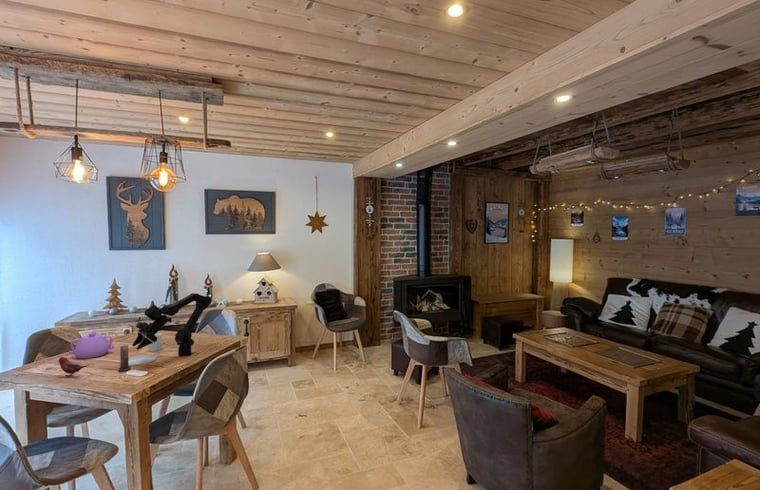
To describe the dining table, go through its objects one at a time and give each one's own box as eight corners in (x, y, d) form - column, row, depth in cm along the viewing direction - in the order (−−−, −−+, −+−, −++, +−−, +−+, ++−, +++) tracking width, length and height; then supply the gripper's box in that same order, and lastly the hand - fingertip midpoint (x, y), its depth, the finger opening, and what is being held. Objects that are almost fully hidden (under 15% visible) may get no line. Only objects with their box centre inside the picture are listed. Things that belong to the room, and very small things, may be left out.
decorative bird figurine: (60, 374, 192) (60, 355, 192) (91, 376, 190) (91, 357, 190) (55, 376, 189) (55, 357, 189) (86, 378, 187) (86, 358, 187)
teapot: (115, 347, 242) (115, 326, 241) (113, 356, 223) (113, 333, 223) (72, 353, 230) (72, 331, 229) (66, 362, 211) (66, 338, 211)
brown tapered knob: (131, 367, 203) (131, 344, 203) (129, 371, 198) (128, 347, 197) (120, 369, 201) (119, 345, 201) (116, 372, 196) (116, 348, 196)
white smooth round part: (159, 354, 226) (159, 353, 226) (152, 364, 209) (152, 362, 209) (125, 358, 220) (125, 356, 220) (115, 367, 203) (115, 366, 203)
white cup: (155, 352, 232) (155, 336, 232) (144, 351, 233) (144, 335, 233) (165, 348, 239) (164, 333, 239) (154, 347, 241) (154, 332, 241)
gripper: (141, 313, 213) (118, 336, 205) (150, 318, 200) (126, 342, 192) (157, 325, 218) (135, 347, 211) (166, 330, 205) (143, 354, 197)
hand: (134, 347), depth 202 cm, fingers open, 9 cm apart
